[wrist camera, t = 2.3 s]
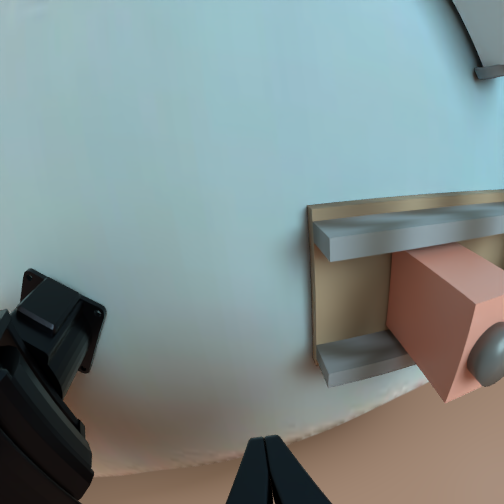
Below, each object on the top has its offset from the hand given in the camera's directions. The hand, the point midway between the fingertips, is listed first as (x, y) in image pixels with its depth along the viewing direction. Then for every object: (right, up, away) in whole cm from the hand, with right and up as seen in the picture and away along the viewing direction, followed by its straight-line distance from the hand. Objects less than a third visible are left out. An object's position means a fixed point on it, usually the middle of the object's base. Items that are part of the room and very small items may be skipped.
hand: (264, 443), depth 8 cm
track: (+12, +4, +12) cm, 18 cm away
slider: (+10, +4, +11) cm, 16 cm away
